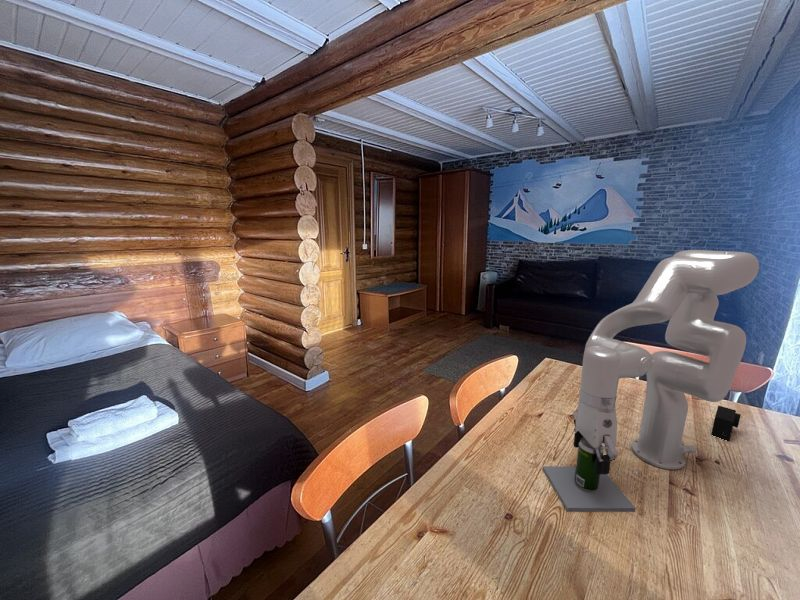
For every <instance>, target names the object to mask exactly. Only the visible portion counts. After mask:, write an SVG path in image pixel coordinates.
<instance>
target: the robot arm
mask: <svg viewBox="0 0 800 600" xmlns="http://www.w3.org/2000/svg"><path fill="white" fill-rule="evenodd" d="M759 270H760V263H759V260H758V258H757V257H756V256H755V254H753V253H750V252H744V251H732V250H731V251H727V250H707V249H688V250H681V251H680V250H679V251H678V252H676V253H675V254H673V255H672V256H671V257H667V258H664V259H663V260H661V261H660V262H658V264H657V265H656V266H655V268H654V269H653V271H652V273H651V274H650V276H649V278H648V279H647V281H646V282H645V284H644V285H643V287H642V289H641V290H640V291H639V293H638V295H637V296H636V298H635V299H634V300H633V302H632V303H629V304H626V305H625V306H622V307H620V308H617V310H615V311H613V312H611V313H609V314H607V315H606V316H604V317H603V318H602V319H601V320H600V321H599V322H598V323H597V325H596V327H594V329H593V331H592V332H591V334H590V336H589V337H588V339H587V341H586V343H585V347H584V352H583V358H582V367H581V378H580V387H579V388H580V389H579V397H578V402H577V407H576V410H574V411H573V410H572V412H573V418H574V419H573V424H574V427H573V431H574V437H573V447H574V448H578V447H579V442H580V440H581V439H582V438H585V439H586V440H587V441H588V442H589V443H590V445H591V446H593V447H594V448H595V449H596V453H597V456H598V458H596V462H595V470H594V472H595V474H608V475H609V474H610V471H611V470H610V468H611V462H613V461H615V460H616V459H617V457H618V456H619V452H618V450H617V448H616V445H617V431H618V430H617V429H618V420H617V419H618V418H617V411H616V409H615V408H616V403H617V395H618V387H619V380H620V379H634V378H640V377H642V376H645V375H646V389H645V398H644V404H643V409H642V417H641V422H640V429H639V434H638V438H637V439H634V440H632V442H631V444H630V449H631V451H632V453H634V454H635V455H636V457H637V458H639V459H640V460H641V461H644V462H646V463H647V464H649V465H652V466H654V467H657V468H662V469H665V470H681V469H683V468H684V467H685V466H686V459H685V457H684V456H683V455H686V454H687V453H688V454H696V453H697V452H698V451H697V448H696V447H695V446H694V445H685V443H684V442H683V436H684V430H685V425H686V420H687V415H688V411H689V403H688V399H687V397H686V394H687V395H690V396H693V397H695V398H698V399H699V400H703V401H706V402H710V403H711V402H712V403H718V402H720V401H722V400H723V399H725V398H726V396H727V395H728V393H729V391H730V389H731V387H732V384H733V381H734V379H735V376H736V374H737V370H738V368H739V366H740V363H741V361H742V359H743V356H744V354H745V353H744V352H745V349H746V345H747V335H746V333H745V331H744V330H743V329H742V328H741V327H739V326H738V325H734V324H731V323H727V322H722V321H717V320H715V316H716V313H717V310H718V308H719V303H720V301H719V299H718V296H720V295H721V296H722V295H725V294H728V293H731V292H734V291H736V290H739V289H742V288H744V287H746V286H748V285H749V284H751V283H752V282H753V280H754V279H755V278H756V277H757V275H758V273H759ZM666 322H668V324H667V327H666V331H665V334H664V340H665V342H666V343H667V344H668V345H669V346H671V347H674V348H676V349H679V350H682V351H685V352H689V353H692V354H697V355H700V356H703V357H707V358H709V362H707V361H704V360H700V359H698V358H697V359H696V358H694V357H692V356H687V355H684V354H681V353H677V352H674V351H668V350H667V351H666V350H659V351H655V352H653V353H650V352H649V351H648V350H646V349H645V348H643V347H641V346H638V345H634V344H631V343H628V342H626V341H625V342H624V341H622V340H619V339H615V338H614V337H615V336H616V335H617V334H619V333H621V332H622V331H625V330H626V329H629V328H632V327H637V326H646V325H654V324H661V323H666ZM601 444H602V445H603V444H604V445H603V446H601ZM601 449H603V450H604V451H605V454H603V455H602V453H601Z"/></svg>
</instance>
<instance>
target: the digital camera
mask: <svg viewBox="0 0 800 600" xmlns="http://www.w3.org/2000/svg"><path fill="white" fill-rule="evenodd" d="M741 415H742V414H740V413H737V410H736V409H733V408H729V407H726V406H723V405H722V406H721V405H717V410H716V413H715V416H714V420H713V424H712V429H711V434H710V436H711V435H713V436H716V437H719V438H721V439H720V440H722V439H724V440H723V441H725V440H727V441H726V442H728V441H729V442H730V440H731V437H732V432H733V428H739V423H740V421H741ZM713 436H712V437H713ZM716 437H715V438H716ZM719 438H718V439H719Z"/></svg>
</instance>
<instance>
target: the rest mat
mask: <svg viewBox="0 0 800 600" xmlns="http://www.w3.org/2000/svg"><path fill="white" fill-rule="evenodd" d="M575 470H576V465H574V466H573V465H572V466H571V465H568V466H567V465H566V466H563V465H562V466H561V465H560V466H557V465H556V466H554V465H551V466H550V465H548V466H547V465H545V466H543V465H542V472H543V473H544V475H545V476H546V478H547V480H548V481H549V483H550V485H551V487H552V488H553V490H554V492H555V493H556V496H557V497H558V499H559V501H560V503H562V505H563V507H564V509H565V510H566V512H576V513H577V512H581V513H582V512H587V513H588V512H594V513H595V512H598V513H599V512H606V513H607V512H609V513H610V512H612V513H614V512H617V513H618V512H619V513H620V512H623V513H625V512H626V513H630V512H636V507H635V505H633V503H632V501H630V499H629V498H628V497H627V496H626V495H625V494H624V492H623V491H622V490H621V489H620V487H619V486H618V485H617V484H616V483H615V482H614V480H613V479H612V478H611V477H610V475H609V474H600V479H599V486H598V489H597V490H596V491H594V492H587V491H584V490H582V489H580V488H579V487H578V486H577V485H576V483H575V480H574V478H575Z"/></svg>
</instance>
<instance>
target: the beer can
mask: <svg viewBox="0 0 800 600" xmlns="http://www.w3.org/2000/svg"><path fill="white" fill-rule="evenodd" d="M601 446H604V445H603V443H602V444H601ZM604 451H605V450H604V449H601V453H602V455H604V453H605V452H604ZM596 458H598V456H597V453H596V449H595V448H594V447H593V446H591V445H590V443H589V442H588V441H587V440H586V439H585V438H582V439H581V440H580V442H579V447H578V449H577V457H576V464H575V466H576V470H575V478H574V480H575V483H576V485H577V486H578V487H579V488H580V489H582V490H584V491H587V492H594V491H596V490H597V489H598V486H599V479H600V474H595V472H594V470H595V462H596Z"/></svg>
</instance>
